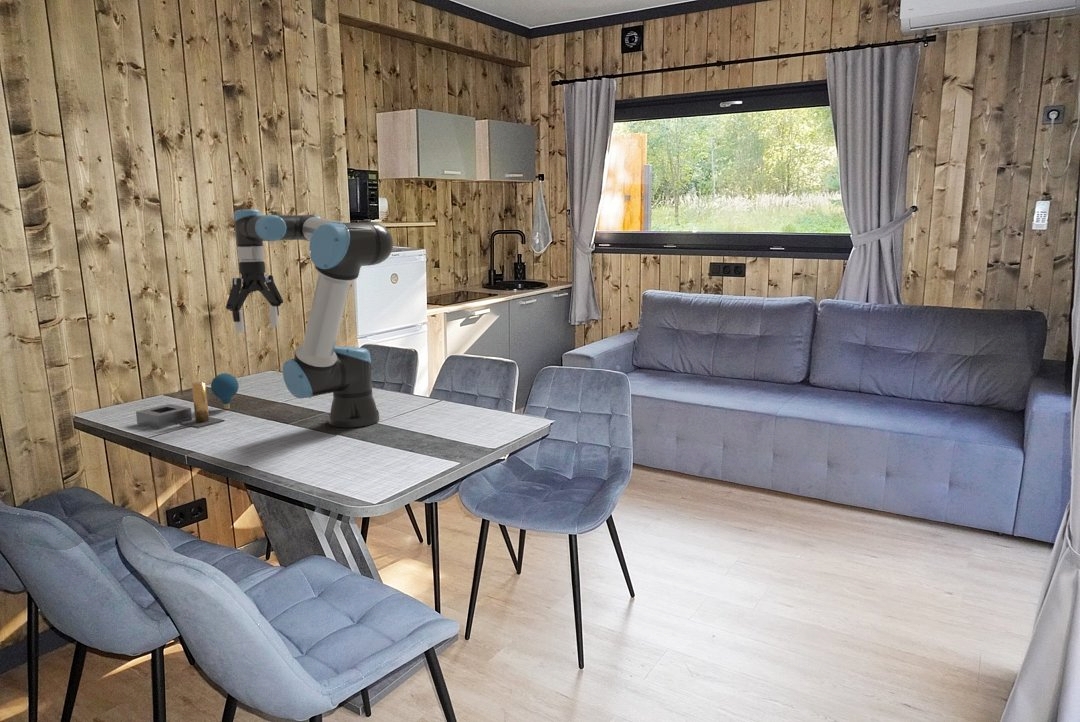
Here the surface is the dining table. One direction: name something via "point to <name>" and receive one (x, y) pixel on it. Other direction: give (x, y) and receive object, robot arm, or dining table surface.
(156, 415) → the block
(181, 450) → the dining table surface
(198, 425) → the mat
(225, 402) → the light bulb
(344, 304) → the robot arm
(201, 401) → the golden cylinder
